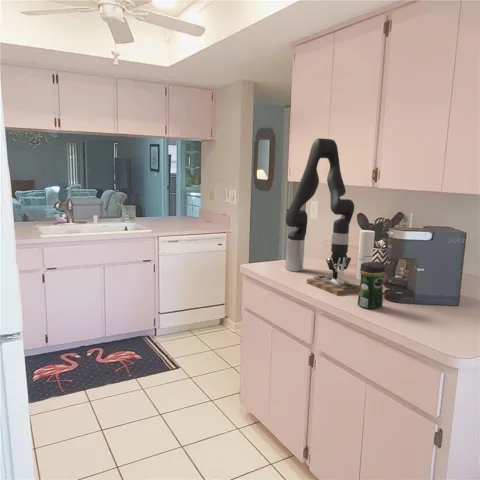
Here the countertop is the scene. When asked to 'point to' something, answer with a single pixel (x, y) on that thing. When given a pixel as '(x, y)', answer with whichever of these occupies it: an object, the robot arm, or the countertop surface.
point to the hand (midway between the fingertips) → (337, 278)
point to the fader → (338, 278)
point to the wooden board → (333, 285)
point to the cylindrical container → (365, 249)
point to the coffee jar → (371, 285)
